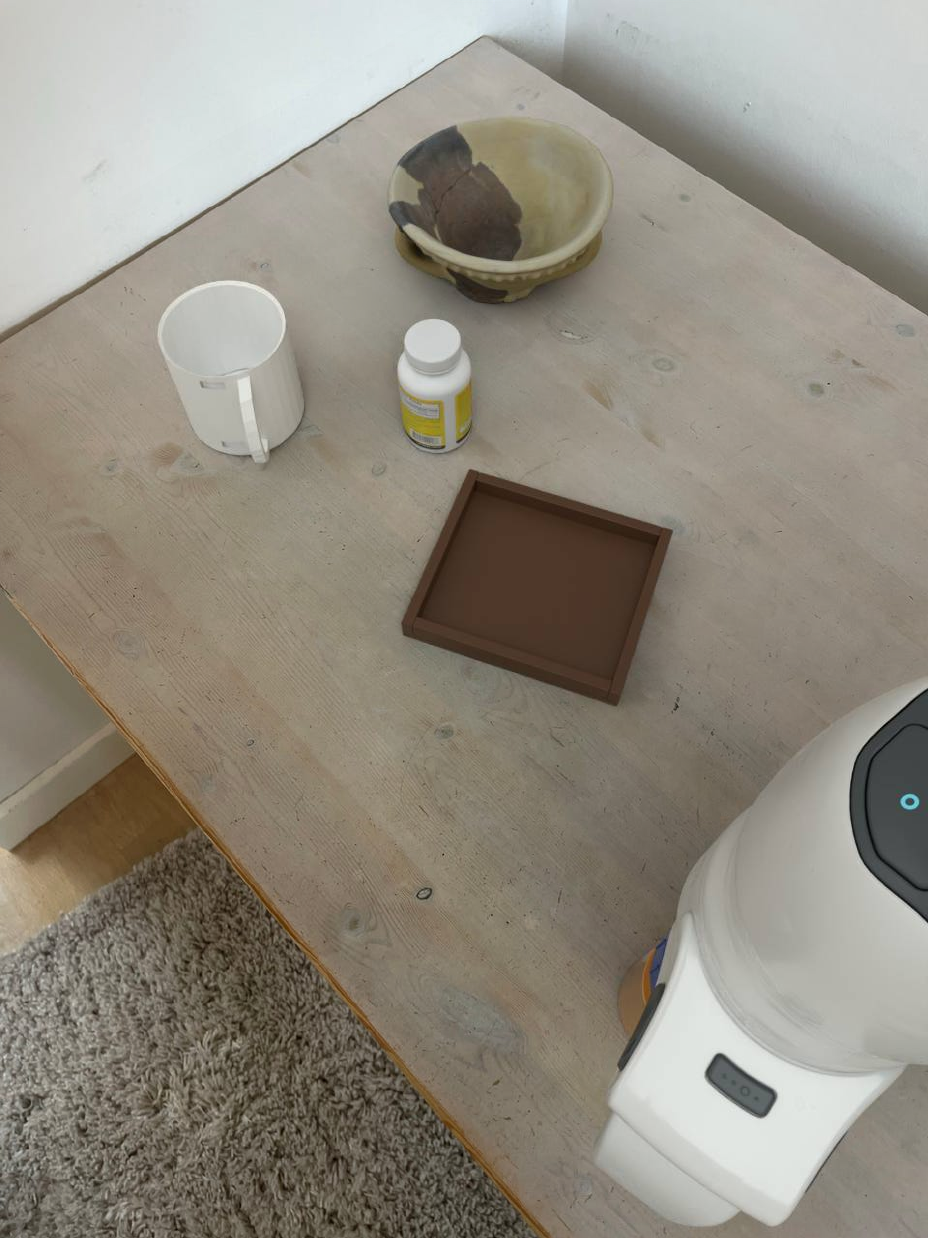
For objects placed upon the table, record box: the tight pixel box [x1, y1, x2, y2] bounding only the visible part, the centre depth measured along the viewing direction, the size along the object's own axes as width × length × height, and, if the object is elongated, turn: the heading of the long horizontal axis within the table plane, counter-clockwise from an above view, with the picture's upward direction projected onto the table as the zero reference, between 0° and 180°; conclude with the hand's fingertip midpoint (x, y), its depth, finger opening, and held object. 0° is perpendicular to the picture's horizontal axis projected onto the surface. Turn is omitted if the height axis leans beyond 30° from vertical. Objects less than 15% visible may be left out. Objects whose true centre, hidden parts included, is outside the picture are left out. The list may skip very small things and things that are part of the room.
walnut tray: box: [401, 468, 674, 707], centre depth 69 cm, size 16×14×2 cm
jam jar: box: [617, 944, 658, 1039], centre depth 52 cm, size 6×6×12 cm
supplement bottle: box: [396, 318, 473, 454], centre depth 73 cm, size 5×5×10 cm
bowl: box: [386, 115, 615, 304], centre depth 80 cm, size 18×18×10 cm
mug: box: [157, 280, 305, 465], centre depth 73 cm, size 12×9×9 cm
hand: (720, 981), depth 46 cm, fingers closed on jam lid, 6 cm apart
